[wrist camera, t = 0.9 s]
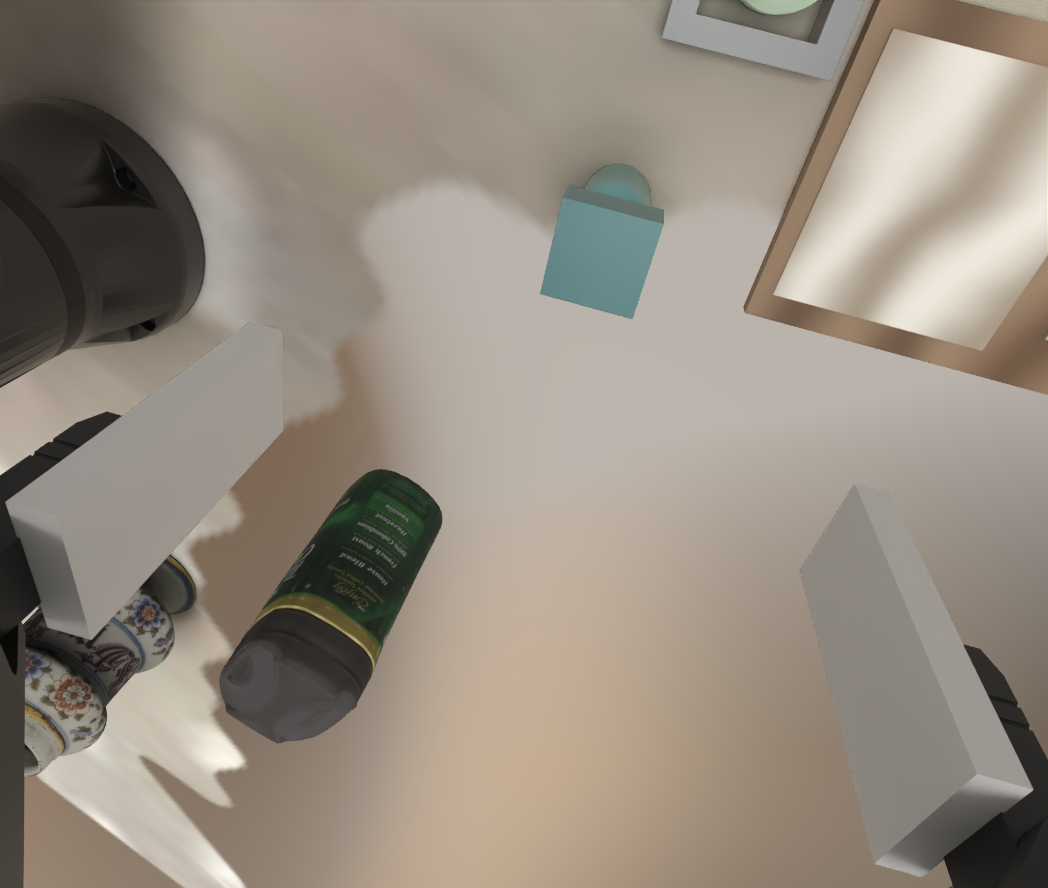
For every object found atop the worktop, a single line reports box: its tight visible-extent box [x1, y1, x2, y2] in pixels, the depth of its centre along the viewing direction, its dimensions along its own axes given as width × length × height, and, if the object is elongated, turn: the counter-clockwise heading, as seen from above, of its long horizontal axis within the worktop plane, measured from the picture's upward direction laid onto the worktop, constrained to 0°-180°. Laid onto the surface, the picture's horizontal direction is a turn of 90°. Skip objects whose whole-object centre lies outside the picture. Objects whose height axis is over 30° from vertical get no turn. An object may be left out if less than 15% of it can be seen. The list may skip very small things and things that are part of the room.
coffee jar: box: [220, 469, 442, 743], centre depth 45 cm, size 10×8×19 cm
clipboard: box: [744, 0, 1048, 395], centre depth 33 cm, size 20×16×2 cm
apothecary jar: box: [23, 555, 196, 776], centre depth 56 cm, size 12×12×18 cm
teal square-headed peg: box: [540, 164, 664, 319], centre depth 32 cm, size 4×4×11 cm
